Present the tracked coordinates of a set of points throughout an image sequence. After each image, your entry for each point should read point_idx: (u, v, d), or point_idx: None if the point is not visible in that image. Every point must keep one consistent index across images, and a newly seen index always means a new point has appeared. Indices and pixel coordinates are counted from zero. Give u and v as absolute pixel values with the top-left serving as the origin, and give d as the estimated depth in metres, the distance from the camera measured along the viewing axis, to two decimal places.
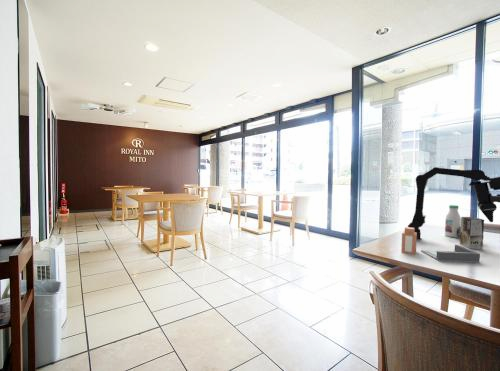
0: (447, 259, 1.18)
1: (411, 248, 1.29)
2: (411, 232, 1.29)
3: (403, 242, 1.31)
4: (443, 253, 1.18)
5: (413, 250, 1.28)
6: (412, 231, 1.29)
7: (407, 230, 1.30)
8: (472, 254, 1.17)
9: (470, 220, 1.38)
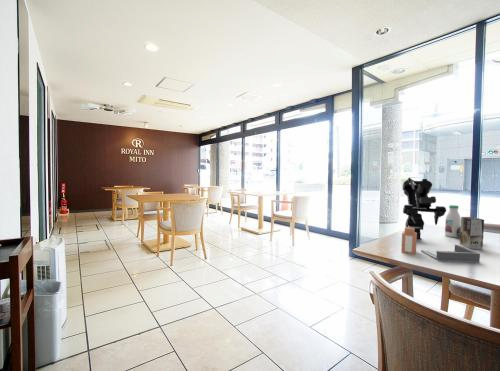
0: (447, 259, 1.18)
1: (411, 248, 1.29)
2: (411, 232, 1.29)
3: (403, 242, 1.31)
4: (443, 253, 1.18)
5: (413, 250, 1.28)
6: (412, 231, 1.29)
7: (407, 230, 1.30)
8: (472, 254, 1.17)
9: (470, 220, 1.38)
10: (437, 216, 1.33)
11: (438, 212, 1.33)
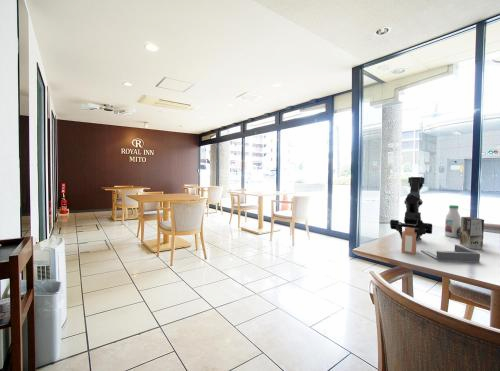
0: (447, 259, 1.18)
1: (411, 248, 1.28)
2: (411, 232, 1.29)
3: (403, 241, 1.31)
4: (443, 253, 1.18)
5: (413, 250, 1.28)
6: (412, 231, 1.29)
7: (407, 230, 1.30)
8: (472, 254, 1.17)
9: (470, 220, 1.38)
10: (418, 232, 1.30)
11: (420, 228, 1.30)
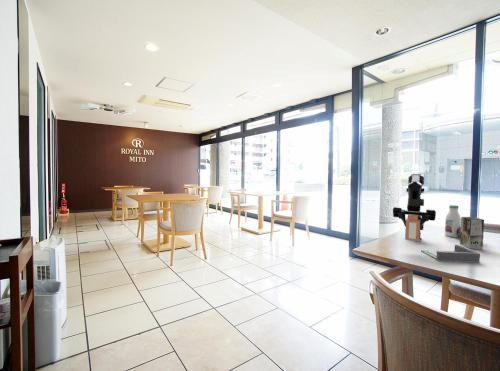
0: (447, 259, 1.18)
1: (415, 235, 1.27)
2: (415, 219, 1.28)
3: (406, 229, 1.29)
4: (443, 253, 1.18)
5: (417, 237, 1.27)
6: (416, 218, 1.28)
7: (411, 217, 1.29)
8: (472, 254, 1.17)
9: (470, 220, 1.38)
10: (422, 219, 1.29)
11: (423, 215, 1.29)
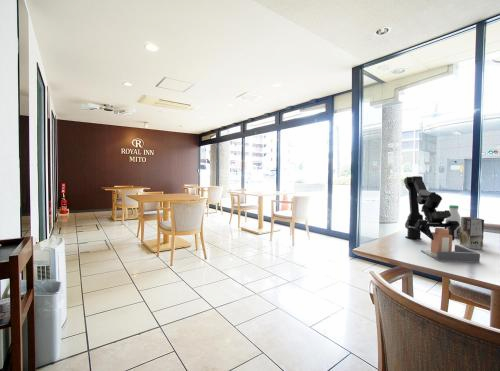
0: (447, 259, 1.18)
1: (448, 249, 1.23)
2: (446, 233, 1.24)
3: (439, 244, 1.23)
4: (443, 253, 1.18)
5: None
6: (447, 232, 1.24)
7: (442, 231, 1.24)
8: (472, 254, 1.17)
9: (470, 220, 1.38)
10: (452, 231, 1.26)
11: (453, 227, 1.26)
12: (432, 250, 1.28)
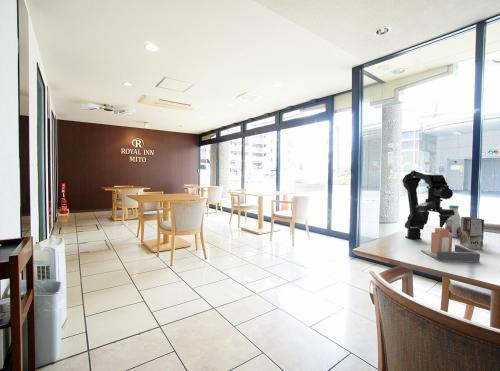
0: (447, 259, 1.18)
1: (448, 249, 1.23)
2: (446, 233, 1.24)
3: (439, 244, 1.23)
4: (443, 253, 1.18)
5: None
6: (447, 232, 1.24)
7: (442, 231, 1.24)
8: (472, 254, 1.17)
9: (470, 220, 1.38)
10: (440, 220, 1.34)
11: (440, 216, 1.33)
12: (432, 250, 1.28)
